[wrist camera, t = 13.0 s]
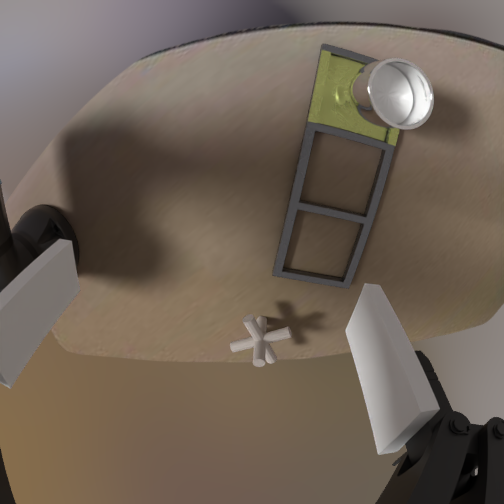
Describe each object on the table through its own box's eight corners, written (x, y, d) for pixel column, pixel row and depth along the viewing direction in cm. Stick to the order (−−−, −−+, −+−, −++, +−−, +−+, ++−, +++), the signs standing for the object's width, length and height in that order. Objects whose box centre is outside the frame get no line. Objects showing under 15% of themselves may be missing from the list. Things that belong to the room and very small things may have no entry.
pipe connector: (278, 289, 48) (278, 331, 39) (298, 331, 52) (301, 374, 43) (223, 306, 50) (213, 348, 41) (247, 345, 54) (242, 387, 45)
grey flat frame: (272, 271, 46) (272, 276, 45) (321, 45, 30) (323, 43, 29) (347, 284, 46) (348, 289, 45) (406, 73, 31) (411, 72, 29)
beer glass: (334, 122, 35) (369, 131, 22) (328, 72, 32) (360, 52, 19) (383, 122, 34) (438, 133, 21) (378, 73, 31) (431, 60, 18)
